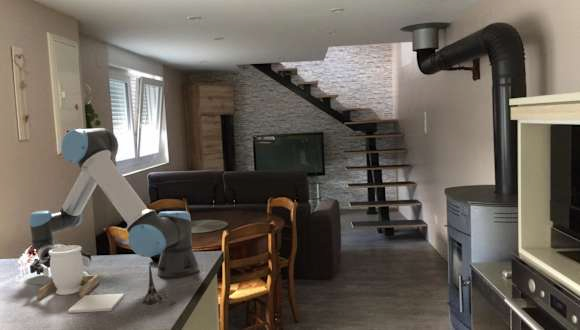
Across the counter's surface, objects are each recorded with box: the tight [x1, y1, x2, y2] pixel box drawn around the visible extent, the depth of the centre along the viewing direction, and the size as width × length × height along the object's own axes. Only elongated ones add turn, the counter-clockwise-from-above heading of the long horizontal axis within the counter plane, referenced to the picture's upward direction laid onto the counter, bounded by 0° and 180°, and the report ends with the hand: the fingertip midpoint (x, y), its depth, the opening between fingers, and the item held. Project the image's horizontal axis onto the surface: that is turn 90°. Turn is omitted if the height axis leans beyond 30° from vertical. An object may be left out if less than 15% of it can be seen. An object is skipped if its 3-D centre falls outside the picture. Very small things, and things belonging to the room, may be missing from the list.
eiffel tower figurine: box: [132, 265, 177, 307], centre depth 161 cm, size 15×10×13 cm
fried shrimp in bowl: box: [149, 253, 161, 264], centre depth 212 cm, size 9×11×18 cm
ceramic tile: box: [67, 293, 125, 314], centre depth 162 cm, size 13×13×1 cm
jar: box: [49, 244, 84, 296], centre depth 175 cm, size 11×10×15 cm
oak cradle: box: [36, 274, 101, 300], centre depth 176 cm, size 15×15×3 cm
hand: (68, 267), depth 173 cm, fingers open, 13 cm apart
